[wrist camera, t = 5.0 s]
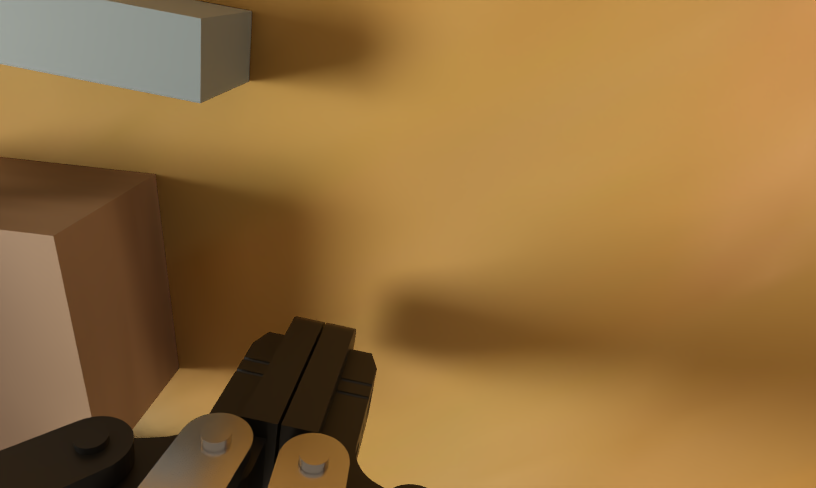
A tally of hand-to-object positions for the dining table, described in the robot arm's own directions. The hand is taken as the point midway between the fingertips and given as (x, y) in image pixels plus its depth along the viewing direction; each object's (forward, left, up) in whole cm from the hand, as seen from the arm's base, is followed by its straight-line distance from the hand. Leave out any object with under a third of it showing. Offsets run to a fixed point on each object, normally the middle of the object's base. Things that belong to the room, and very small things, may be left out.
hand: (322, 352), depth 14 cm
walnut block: (+8, 0, -2) cm, 8 cm away
